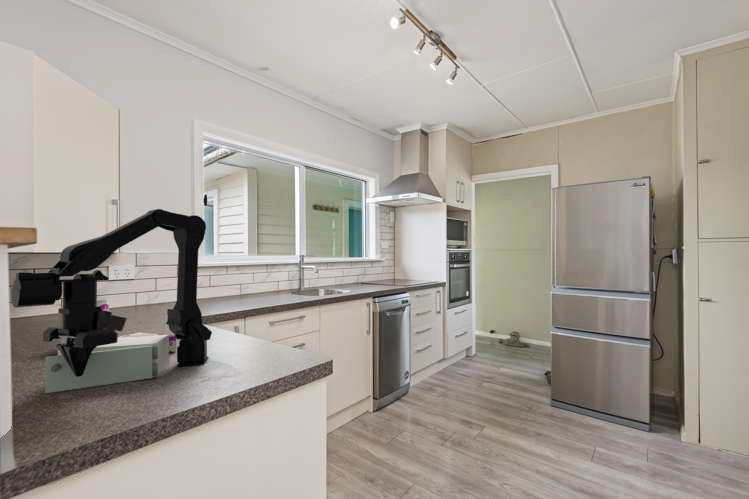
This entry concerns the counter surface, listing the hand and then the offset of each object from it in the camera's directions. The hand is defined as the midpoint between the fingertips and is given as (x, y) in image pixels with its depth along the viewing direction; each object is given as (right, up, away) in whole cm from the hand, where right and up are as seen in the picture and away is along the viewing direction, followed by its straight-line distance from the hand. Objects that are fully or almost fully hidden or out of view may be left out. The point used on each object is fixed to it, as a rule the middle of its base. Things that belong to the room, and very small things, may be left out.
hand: (79, 376), depth 77 cm
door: (+2, -3, +4) cm, 6 cm away
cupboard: (0, -4, +12) cm, 13 cm away
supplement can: (-31, -5, +45) cm, 55 cm away
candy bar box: (+1, -2, +27) cm, 28 cm away
